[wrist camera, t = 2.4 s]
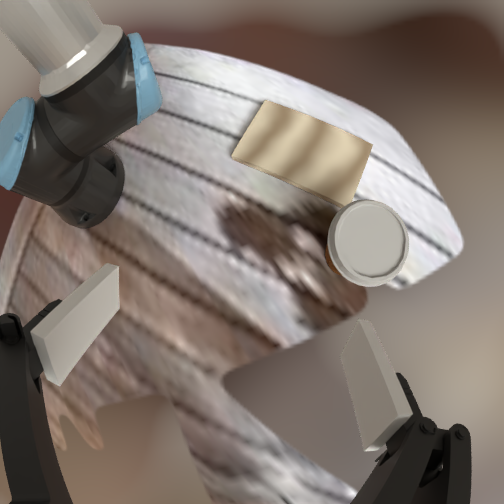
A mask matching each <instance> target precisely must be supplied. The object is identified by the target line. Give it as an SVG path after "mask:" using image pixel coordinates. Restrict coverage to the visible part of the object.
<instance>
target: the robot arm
mask: <svg viewBox="0 0 504 504" xmlns="http://www.w3.org/2000/svg"><path fill="white" fill-rule="evenodd" d="M0 30H1V31H2V32H3V33H4V34H5V36H6V37H7V38H8V39H9V40H10V41H11V42H12V43H13V45H14V46H15V47H16V48H17V49H18V50H19V51H20V52H21V53H22V55H23V56H24V57H25V58H26V59H27V60H28V61H29V62H30V63H31V64H32V65H33V67H34V68H35V69H36V70H37V71H38V72H39V73H40V74H41V80H40V86H39V92H40V94H41V95H42V97H41V98H40V99H38V100H37V101H34V99H33V98H29V97H23V98H21V99H19V100H17V101H16V102H15V103H14V104H13V105H12V106H11V108H10V109H9V110H8V111H7V113H6V114H5V116H4V117H3V119H2V121H1V123H0V185H2V186H4V187H5V189H7V190H10V191H13V192H15V193H18V194H21V195H23V196H26V197H28V198H31V199H33V200H36V201H39V202H41V203H44V204H47V205H49V206H51V207H52V208H53V210H54V211H55V212H56V213H57V214H58V215H59V216H60V217H61V218H62V219H63V220H64V221H65V222H66V223H68V224H70V225H72V226H75V227H78V228H90V227H93V226H95V225H97V224H99V223H100V222H102V221H103V220H104V219H105V218H106V217H107V216H108V215H109V214H110V213H111V212H112V211H113V209H114V208H115V206H116V204H117V202H118V200H119V198H120V196H121V193H122V190H123V186H124V168H123V164H122V162H121V160H120V159H119V158H118V156H117V155H115V154H114V153H113V152H112V151H111V150H109V149H107V148H105V147H102V146H103V145H105V144H106V143H108V142H109V141H111V140H112V139H114V138H115V137H117V136H119V135H120V134H122V133H123V132H125V131H127V130H128V129H130V128H131V127H133V126H135V125H139V124H140V123H141V121H142V120H144V119H145V118H147V117H149V116H150V115H152V114H153V113H155V112H156V111H158V110H159V108H160V106H161V104H162V94H161V91H160V88H159V85H158V82H157V79H156V76H155V73H154V71H153V68H152V65H151V63H150V61H149V57H148V55H147V52H146V49H145V46H144V43H143V41H142V39H141V36H140V34H139V33H133V34H131V33H130V34H128V35H127V37H126V35H125V34H124V32H123V30H122V28H121V27H119V26H115V25H104V24H102V22H101V21H100V19H99V18H98V16H97V14H96V13H95V11H94V10H93V8H92V6H91V5H90V3H89V2H88V0H0ZM119 308H120V307H119V266H116V265H112V264H109V263H106V264H105V265H104V266H103V267H101V268H100V269H99V270H98V271H97V272H95V273H94V274H93V275H92V276H91V277H90V278H88V279H87V280H86V281H85V282H84V283H83V284H81V285H80V286H79V287H78V288H77V289H76V290H74V291H73V292H72V293H71V294H70V295H69V296H68V297H67V298H65V299H64V300H63V301H62V300H59V299H58V300H56V301H53V302H51V303H49V304H48V305H47V306H46V307H45V308H44V309H43V310H41V311H40V312H39V313H38V315H36V316H35V317H34V318H33V319H32V320H31V321H30V322H28V323H27V324H26V325H25V326H24V327H23V328H22V325H21V321H20V318H19V317H18V316H17V315H15V314H13V313H7V314H3V315H1V316H0V440H1V447H2V454H3V460H4V466H5V471H6V475H7V479H8V484H9V488H10V492H11V495H12V501H11V502H10V503H9V504H73V502H72V500H71V498H70V495H69V492H68V490H67V487H66V484H65V482H64V479H63V476H62V473H61V470H60V467H59V464H58V460H57V457H56V453H55V449H54V446H53V442H52V438H51V434H50V429H49V425H48V420H47V415H46V409H45V403H44V397H43V390H42V383H41V378H40V376H39V375H40V374H41V373H42V372H43V371H44V373H45V376H46V378H47V380H49V381H51V382H53V383H55V384H56V385H58V386H60V385H61V384H62V383H63V381H64V380H65V378H66V377H67V376H68V374H69V373H70V371H71V370H72V369H73V367H74V366H75V365H76V363H77V362H78V361H79V359H80V358H81V357H82V355H83V354H84V353H85V351H86V350H87V349H88V347H89V346H90V345H91V343H92V342H93V341H94V340H95V338H96V337H97V336H98V335H99V333H100V332H101V331H102V329H103V328H104V327H105V326H106V324H107V323H108V322H109V321H110V319H111V318H112V317H113V316H114V315H115V313H116V312H117V311H118V310H119ZM340 359H341V362H342V366H343V369H344V373H345V376H346V380H347V384H348V388H349V391H350V395H351V399H352V403H353V407H354V411H355V415H356V419H357V423H358V427H359V432H360V436H361V440H362V444H363V449H364V451H373V450H379V449H380V448H381V447H382V446H383V445H384V444H385V443H386V446H387V450H386V451H385V452H384V453H383V454H381V455H380V456H379V457H378V458H377V459H376V460H375V462H377V461H378V460H379V459H380V460H379V462H378V463H377V465H376V467H375V468H374V470H373V471H372V473H371V474H370V476H369V478H368V479H367V481H366V482H365V484H364V485H363V487H362V488H361V490H360V491H359V492H358V494H357V495H356V497H355V498H354V499H353V501H352V502H351V503H350V504H470V496H471V437H470V433H469V431H468V429H467V428H466V427H465V426H464V425H462V424H454V425H453V426H452V427H451V428H450V429H449V430H444V429H439V428H437V425H436V424H435V423H434V421H432V420H431V419H429V418H427V417H423V416H422V413H421V411H420V409H419V407H418V404H417V402H416V400H415V398H414V396H413V393H412V391H411V389H410V387H409V385H408V382H407V380H406V379H405V378H404V377H403V376H402V375H401V374H400V373H395V372H394V369H393V367H392V365H391V363H390V361H389V358H388V356H387V354H386V352H385V350H384V348H383V346H382V344H381V342H380V340H379V338H378V335H377V333H376V331H375V329H374V328H373V326H372V324H371V322H370V321H367V320H361V319H358V321H357V323H356V325H355V327H354V329H353V331H352V334H351V335H350V337H349V339H348V341H347V343H346V346H345V347H344V349H343V351H342V353H341V355H340ZM442 465H443V468H442Z"/></svg>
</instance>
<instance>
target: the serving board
mask: <svg viewBox="0 0 504 504" xmlns="http://www.w3.org/2000/svg"><path fill="white" fill-rule="evenodd" d="M372 146H373V145H372V144H370V143H368V142H366V141H364V140H362V139H360V138H358V137H356V136H354V135H352V134H350V133H348V132H346V131H344V130H341V129H339V128H337V127H335V126H332V125H330V124H328V123H325V122H323V121H321V120H318V119H316V118H313V117H311V116H308V115H306V114H303V113H301V112H298V111H296V110H293V109H290V108H287V107H285V106H282V105H279V104H276V103H273V102H270V101H267V100H265V101H264V103H263V105H262V106H261V108H260V109H259V111H258V112H257V114H256V116H255V117H254V119H253V120H252V122H251V124H250V125H249V127H248V129H247V130H246V132H245V133H244V135H243V137H242V138H241V140H240V142H239V143H238V145H237V147H236V148H235V150H234V152H233V154H232V155H231V156H232V159H233V160H235V161H237V162H240V163H242V164H245V165H247V166H250V167H252V168H254V169H257V170H259V171H262V172H264V173H266V174H269V175H271V176H273V177H276V178H278V179H280V180H283V181H285V182H287V183H289V184H291V185H294V186H296V187H298V188H300V189H303V190H305V191H307V192H309V193H311V194H313V195H315V196H317V197H320V198H322V199H324V200H326V201H328V202H330V203H332V204H334V205H336V206H338V207H340V208H343V207H344V206H346V205H347V204H349V203H351V202H352V199H353V197H354V194H355V192H356V189H357V186H358V184H359V181H360V179H361V176H362V173H363V171H364V168H365V165H366V163H367V160H368V157H369V154H370V152H371V149H372Z"/></svg>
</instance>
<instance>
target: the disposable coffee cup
mask: <svg viewBox="0 0 504 504" xmlns="http://www.w3.org/2000/svg"><path fill="white" fill-rule="evenodd" d="M408 250H409V237H408V233H407V229H406V227H405V225H404V223H403V221H402V219H401V218H400V216H399V215H398V214H397V213H396V212H395V211H394V210H393V209H392V208H390V207H389V206H387V205H386V204H383V203H381V202H378V201H374V200H357V201H354V202H351V203H349V204H347V205H346V206H344V207H343V208H342V209H341V210H340V211H339V212H338V213H337V214H336V215H335V217H334V218H333V220H332V222H331V225H330V228H329V232H328V243H327V246H326V250H325V257H326V261H327V263H328V266H329V267H330V269H331V270H332V271H333V272H335V273H336V274H339V275H341V276H343V277H345V278H346V279H348V280H349V281H351V282H353V283H355V284H358V285H360V286H366V287H373V286H379V285H383V284H385V283H387V282H389V281H390V280H392V279H393V278H394V277H395V276H396V275H397V274H398V273H399V272H400V270H401V269H402V267H403V265H404V263H405V260H406V258H407V255H408Z"/></svg>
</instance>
